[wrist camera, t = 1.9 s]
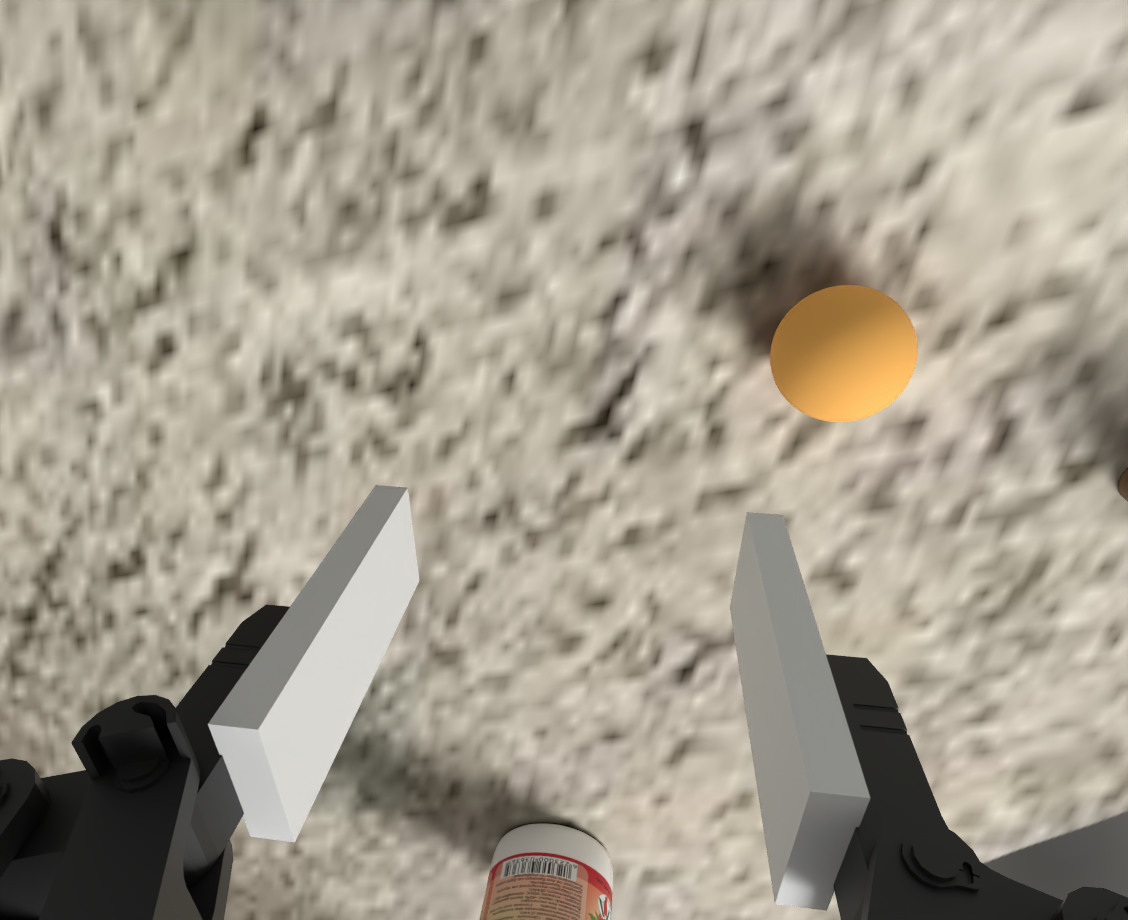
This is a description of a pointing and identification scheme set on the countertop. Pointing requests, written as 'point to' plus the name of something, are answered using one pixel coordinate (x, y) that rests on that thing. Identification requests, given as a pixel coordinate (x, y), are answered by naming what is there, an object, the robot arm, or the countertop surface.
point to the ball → (843, 353)
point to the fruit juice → (548, 876)
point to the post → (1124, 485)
